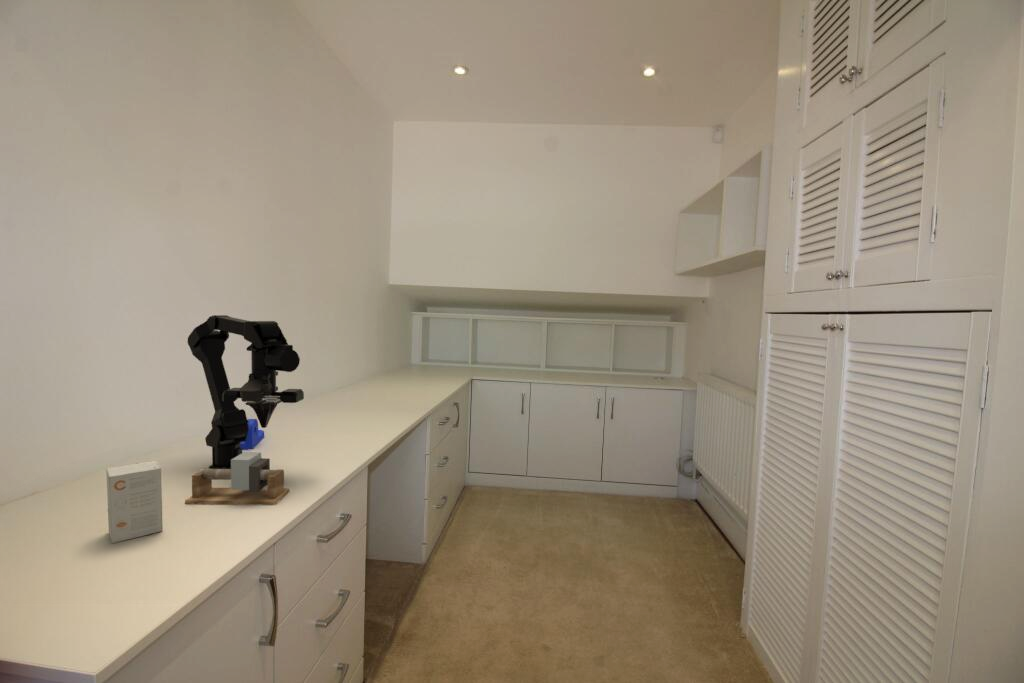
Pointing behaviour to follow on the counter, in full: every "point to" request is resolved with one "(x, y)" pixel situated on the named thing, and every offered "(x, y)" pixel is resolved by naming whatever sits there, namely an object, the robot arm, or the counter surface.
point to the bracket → (252, 435)
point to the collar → (258, 475)
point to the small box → (134, 500)
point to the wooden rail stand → (212, 495)
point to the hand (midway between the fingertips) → (264, 427)
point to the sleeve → (242, 469)
